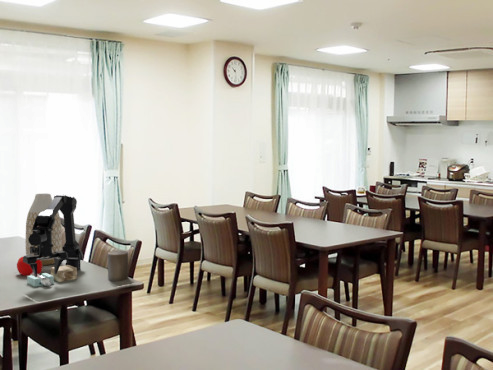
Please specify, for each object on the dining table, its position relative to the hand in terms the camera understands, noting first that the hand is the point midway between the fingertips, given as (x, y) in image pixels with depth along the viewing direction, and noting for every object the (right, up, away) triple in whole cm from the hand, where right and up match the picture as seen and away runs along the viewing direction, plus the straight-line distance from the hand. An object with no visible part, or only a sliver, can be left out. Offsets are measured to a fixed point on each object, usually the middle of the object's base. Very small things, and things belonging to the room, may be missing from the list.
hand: (45, 275), depth 250 cm
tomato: (-16, -4, +22) cm, 27 cm away
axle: (-4, -4, +5) cm, 7 cm away
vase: (-19, -2, +49) cm, 53 cm away
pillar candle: (+29, -5, +15) cm, 34 cm away
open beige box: (+4, -5, +14) cm, 15 cm away
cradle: (-4, -5, +5) cm, 8 cm away
